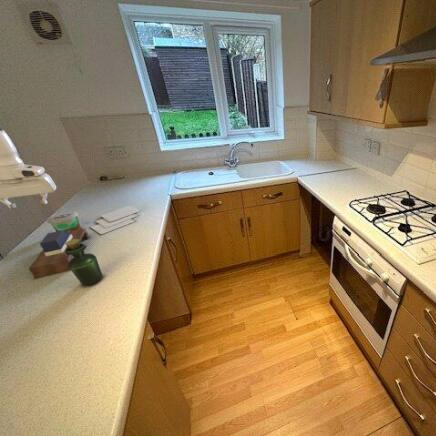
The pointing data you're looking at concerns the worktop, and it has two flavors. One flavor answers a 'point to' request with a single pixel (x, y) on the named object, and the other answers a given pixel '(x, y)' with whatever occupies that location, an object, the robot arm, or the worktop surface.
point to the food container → (65, 222)
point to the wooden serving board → (55, 259)
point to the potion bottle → (83, 264)
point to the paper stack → (115, 219)
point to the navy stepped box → (55, 242)
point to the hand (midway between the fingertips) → (29, 206)
